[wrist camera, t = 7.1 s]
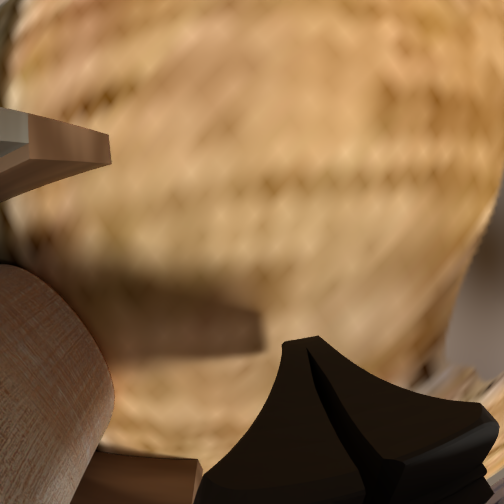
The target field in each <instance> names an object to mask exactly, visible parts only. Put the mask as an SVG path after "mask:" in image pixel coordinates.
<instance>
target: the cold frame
mask: <svg viewBox="0 0 504 504" xmlns="http://www.w3.org/2000/svg"><path fill="white" fill-rule="evenodd" d="M110 164H112V163H111V154H110V145H109V135H108V134H104V133H101V132H97V131H94V130H90V129H87V128H83V127H80V126H76V125H73V124H69V123H65V122H61V121H57V120H54V119H50V118H46V117H42V116H37V115H33V114H29V113H25V112H20V111H16V110H11V109H7V108H2V107H0V202H3V201H5V200H8V199H10V198H12V197H15V196H17V195H20V194H22V193H25V192H28V191H30V190H33V189H35V188H38V187H41V186H44V185H46V184H49V183H52V182H55V181H58V180H61V179H64V178H67V177H70V176H73V175H76V174H79V173H83V172H86V171H89V170H93V169H96V168H99V167H103V166H106V165H110ZM202 473H203V469H202V467H201V465H200V463H199V461H198V460H187V459H160V458H146V457H135V456H126V455H117V454H110V453H104V452H97V451H95V452H94V454H93V456H92V458H91V460H90V462H89V464H88V466H87V468H86V470H85V472H84V474H83V476H82V478H81V480H80V482H79V485H78V487H77V489H76V491H75V493H74V495H73V498H72V500H71V502H70V504H193V503H194V499H195V496H196V493H197V490H198V487H199V484H200V482H201V480H202Z"/></svg>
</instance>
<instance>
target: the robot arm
mask: <svg viewBox="0 0 504 504" xmlns="http://www.w3.org/2000/svg"><path fill="white" fill-rule="evenodd" d="M499 427H500V426H499V424H498V422H497V421H496V420H495V419H494V418H493V416H492V415H491V414H490V413H489V412H488V411H487V410H486V409H485V407H484V406H483V405H482V404H480V403H475V402H463V401H453V400H446V399H441V398H436V397H431V396H427V395H423V394H419V393H416V392H413V391H410V390H407V389H404V388H401V387H398V386H396V385H393V384H391V383H389V382H387V381H384V380H382V379H380V378H378V377H376V376H374V375H372V374H370V373H369V372H367V371H365V370H364V369H362V368H360V367H359V366H357V365H356V364H354V363H353V362H351V361H350V360H349V359H347V358H346V357H344V356H343V355H342V354H340V353H339V352H338V351H337V350H335V349H334V348H333V347H332V346H330V345H329V344H328V343H327V342H326V341H324V340H323V339H322V338H321V337H319V336H314V337H308V338H303V339H297V340H291V341H285V342H284V343H283V344H282V357H281V362H280V366H279V370H278V373H277V376H276V379H275V382H274V384H273V387H272V389H271V392H270V394H269V396H268V398H267V400H266V402H265V404H264V406H263V408H262V410H261V411H260V413H259V415H258V416H257V418H256V419H255V421H254V422H253V424H252V425H251V427H250V428H249V429H248V431H247V432H246V433H245V435H244V436H243V437H242V438H241V439H240V440H239V442H238V443H237V444H236V445H235V446H234V447H233V448H232V449H231V451H230V452H229V453H228V454H227V455H226V456H225V457H223V458H222V459H221V460H220V461H219V462H218V463H217V464H216V465H214V466H213V467H212V468H211V469H210V470H209V471H208V472H206V473H205V474H204V475H203V477H202V480H201V482H200V484H199V487H198V490H197V493H196V496H195V499H194V503H193V504H504V478H502V479H501V480H499V481H498V482H496V483H495V484H494V485H492V486H491V487H490V485H489V484H488V482H487V481H486V479H485V478H484V476H485V475H486V473H487V469H486V468H485V467H484V465H483V464H482V463H483V461H484V459H485V458H486V456H487V455H488V453H489V451H490V450H491V448H492V446H493V445H494V443H495V441H496V439H497V437H498V433H499Z"/></svg>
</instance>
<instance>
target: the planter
mask: <svg viewBox="0 0 504 504" xmlns="http://www.w3.org/2000/svg"><path fill="white" fill-rule="evenodd" d="M114 401H115V394H114V386H113V382H112V378H111V374H110V371H109V368H108V366H107V363H106V361H105V359H104V356H103V354H102V352H101V350H100V349H99V347H98V345H97V343H96V341H95V340H94V338H93V336H92V335H91V333H90V332H89V330H88V329H87V327H86V326H85V324H84V323H83V322H82V320H81V319H80V318H79V316H78V315H77V314H76V313H75V311H74V310H73V309H72V308H71V307H70V305H69V304H68V303H67V302H66V301H65V300H64V299H63V298H62V297H61V296H60V295H59V294H58V293H57V292H56V291H55V290H54V289H53V288H51V287H50V286H49V285H48V284H47V283H45V282H44V281H43V280H42V279H40V278H39V277H37V276H36V275H34V274H32V273H31V272H29V271H27V270H25V269H23V268H20V267H18V266H14V265H9V264H0V504H70V502H71V500H72V498H73V495H74V493H75V491H76V489H77V487H78V485H79V482H80V480H81V478H82V476H83V474H84V472H85V470H86V468H87V466H88V464H89V462H90V460H91V458H92V456H93V454H94V452H95V450H96V448H97V446H98V444H99V442H100V440H101V438H102V436H103V434H104V432H105V430H106V428H107V426H108V424H109V422H110V419H111V416H112V412H113V409H114Z"/></svg>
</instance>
